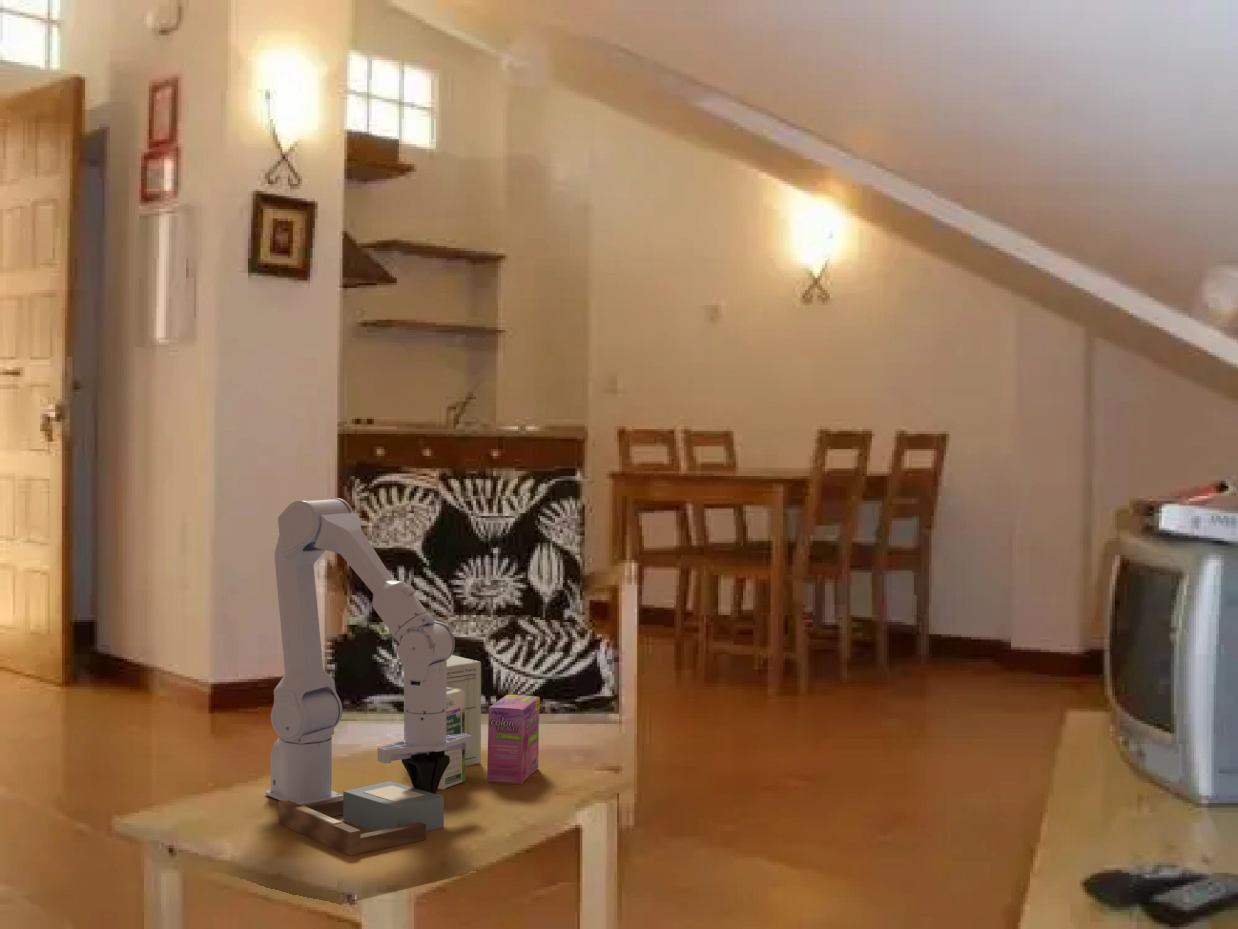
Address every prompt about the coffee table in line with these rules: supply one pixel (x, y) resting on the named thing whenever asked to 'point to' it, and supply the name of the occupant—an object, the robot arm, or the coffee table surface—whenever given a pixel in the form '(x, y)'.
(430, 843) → the coffee table surface
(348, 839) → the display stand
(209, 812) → the coffee table surface
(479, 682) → the supplement box
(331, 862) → the coffee table surface
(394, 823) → the carton
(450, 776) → the syrup box
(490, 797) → the coffee table surface
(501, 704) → the box
